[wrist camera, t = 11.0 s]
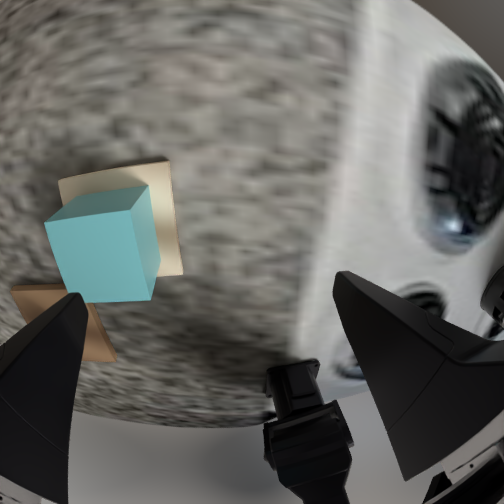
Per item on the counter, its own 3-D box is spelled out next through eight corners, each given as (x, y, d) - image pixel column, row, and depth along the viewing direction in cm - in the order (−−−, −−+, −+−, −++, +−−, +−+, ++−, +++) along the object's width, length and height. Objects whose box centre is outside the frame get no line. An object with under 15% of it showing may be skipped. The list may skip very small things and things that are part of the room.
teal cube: (160, 259, 21) (150, 300, 16) (94, 265, 20) (72, 303, 15) (148, 185, 18) (130, 210, 13) (76, 196, 17) (44, 222, 13)
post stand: (117, 355, 26) (107, 399, 21) (50, 351, 25) (35, 388, 20) (84, 282, 21) (60, 327, 16) (14, 285, 20) (-13, 322, 15)
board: (183, 270, 22) (182, 274, 21) (87, 277, 21) (85, 281, 20) (169, 160, 18) (167, 161, 17) (61, 178, 16) (57, 180, 16)
